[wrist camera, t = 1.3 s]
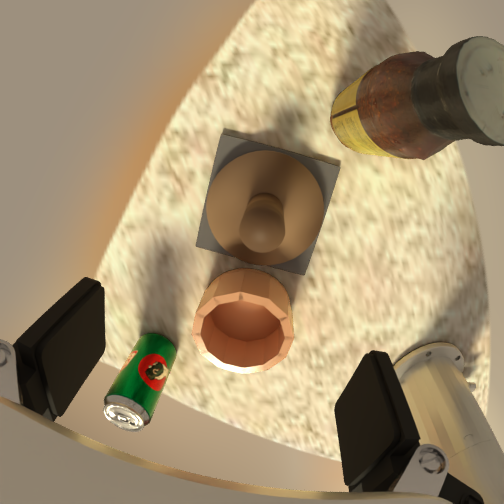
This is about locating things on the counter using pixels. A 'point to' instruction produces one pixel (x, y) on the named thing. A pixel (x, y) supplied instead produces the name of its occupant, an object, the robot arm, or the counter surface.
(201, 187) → the counter surface
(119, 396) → the soda can
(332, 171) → the mat
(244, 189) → the lid
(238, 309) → the bowl
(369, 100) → the sauce bottle
